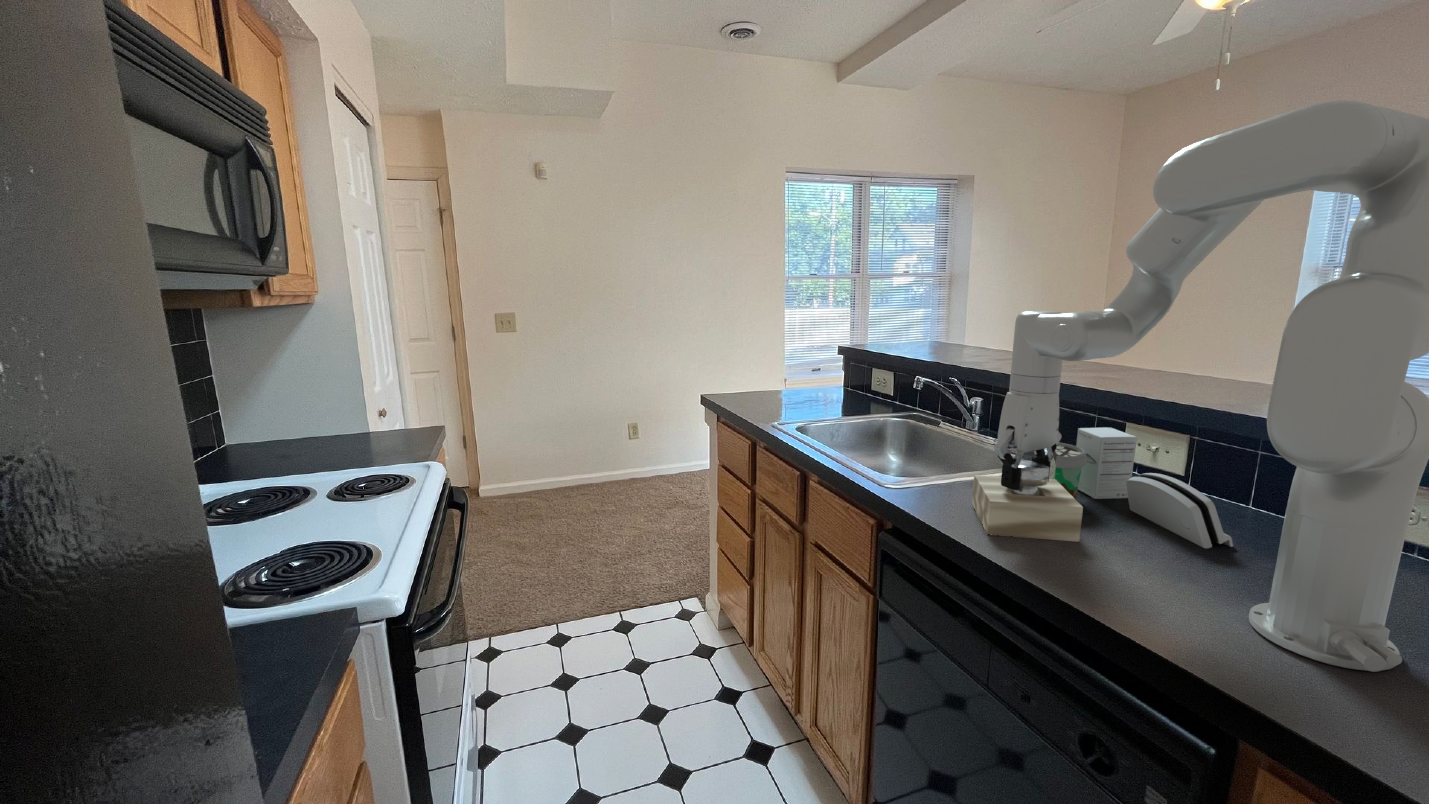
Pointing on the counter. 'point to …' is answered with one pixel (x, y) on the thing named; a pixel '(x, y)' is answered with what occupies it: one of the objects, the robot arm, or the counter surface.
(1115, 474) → the supplement box
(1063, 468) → the food container
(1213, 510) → the white curved block
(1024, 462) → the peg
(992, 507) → the block
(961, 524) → the counter surface
